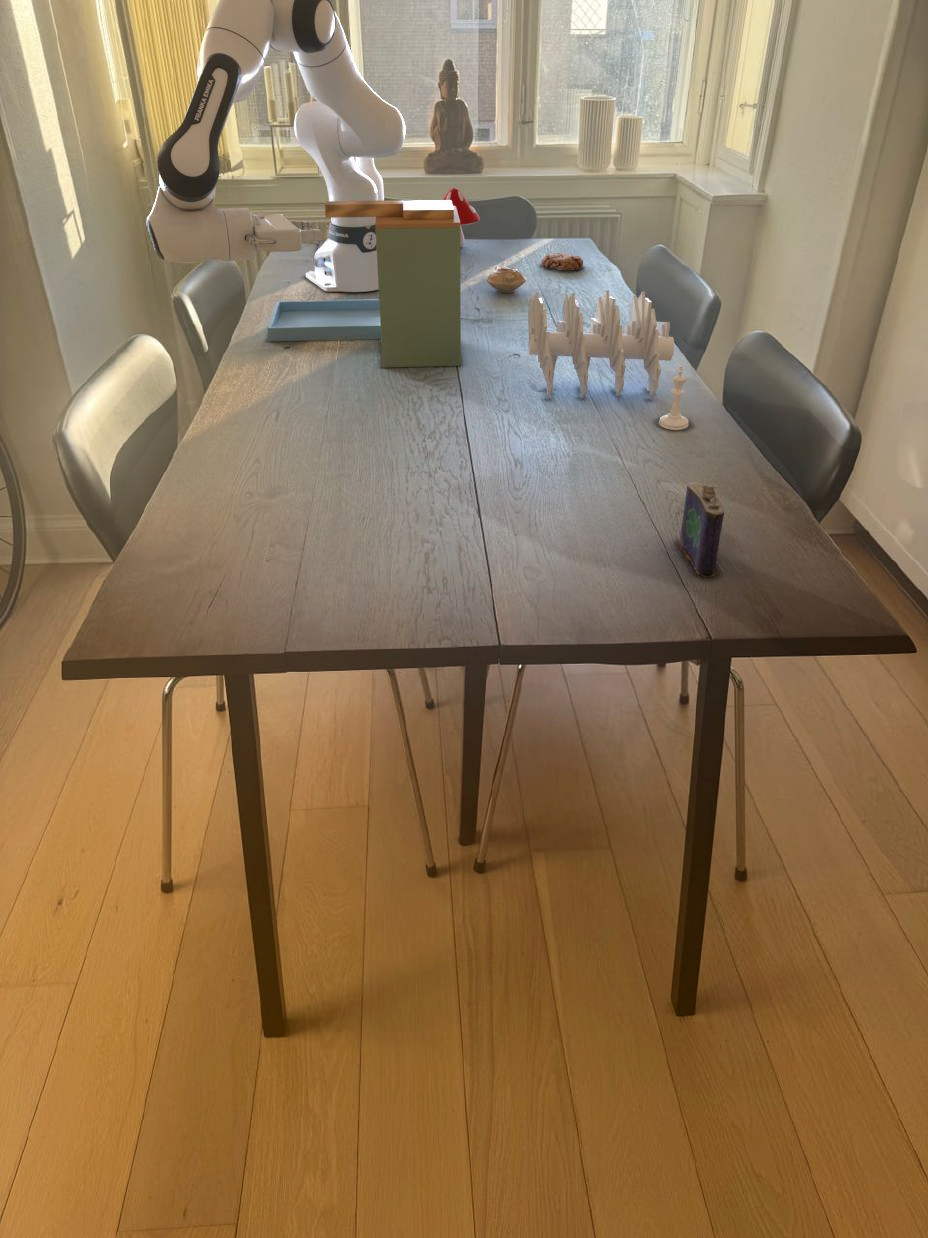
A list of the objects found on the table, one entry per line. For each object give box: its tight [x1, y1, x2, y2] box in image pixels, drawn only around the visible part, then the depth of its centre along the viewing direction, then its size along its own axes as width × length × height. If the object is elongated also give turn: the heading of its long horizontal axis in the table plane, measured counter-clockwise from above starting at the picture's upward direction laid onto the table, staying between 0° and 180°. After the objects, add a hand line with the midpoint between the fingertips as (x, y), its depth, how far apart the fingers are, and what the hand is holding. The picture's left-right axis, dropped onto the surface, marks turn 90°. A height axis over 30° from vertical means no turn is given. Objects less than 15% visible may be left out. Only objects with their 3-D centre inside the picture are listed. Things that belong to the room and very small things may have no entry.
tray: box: [267, 298, 381, 342], centre depth 202 cm, size 32×19×3 cm, turn 94°
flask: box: [678, 481, 725, 578], centre depth 120 cm, size 9×3×11 cm, turn 8°
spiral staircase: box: [527, 290, 675, 399], centre depth 166 cm, size 18×18×25 cm
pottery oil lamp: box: [485, 265, 527, 294], centre depth 223 cm, size 9×12×7 cm
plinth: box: [375, 206, 462, 369], centre depth 180 cm, size 15×14×26 cm
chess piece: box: [658, 365, 690, 431], centre depth 156 cm, size 5×5×10 cm
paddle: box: [324, 199, 454, 220], centre depth 172 cm, size 23×8×2 cm, turn 94°
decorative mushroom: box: [441, 187, 481, 248], centre depth 253 cm, size 14×14×15 cm
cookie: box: [540, 252, 584, 271], centre depth 240 cm, size 10×11×3 cm
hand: (316, 230), depth 177 cm, fingers open, 8 cm apart
